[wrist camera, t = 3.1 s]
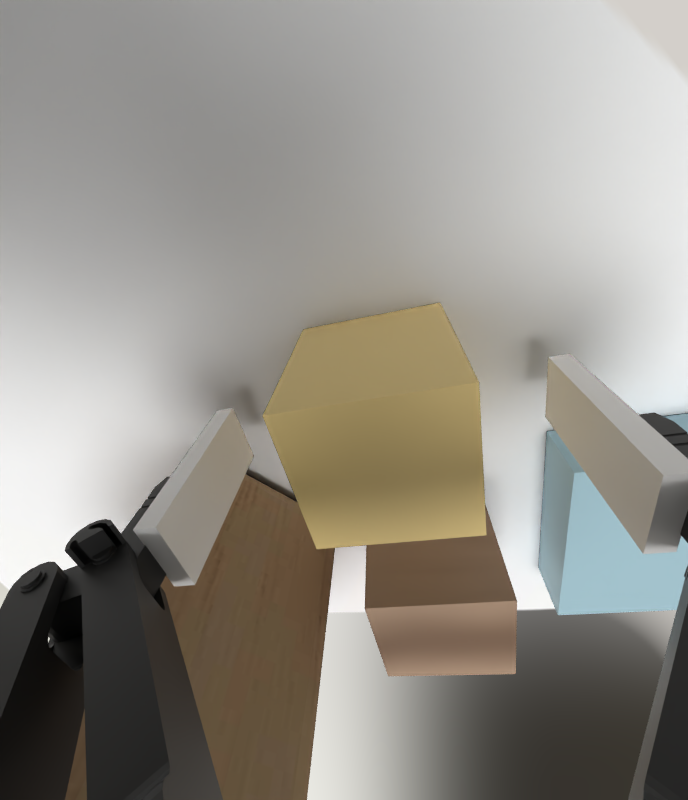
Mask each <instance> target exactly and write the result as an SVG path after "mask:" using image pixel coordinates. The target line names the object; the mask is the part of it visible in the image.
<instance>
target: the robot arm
mask: <svg viewBox="0 0 688 800" xmlns="http://www.w3.org/2000/svg"><path fill="white" fill-rule="evenodd" d="M545 417H546V418H547V420H548V421H549V423H550V424H551V425H552V427H553V428H554V430H555V431H556V432H557V434H558V435H559V437H560V438H561V439H562V441H563V442H564V444H565V445H566V446H567V448H568V449H569V451H570V452H571V453H572V455H573V456H574V458H575V459H576V460H577V462H578V463H579V465H580V466H581V467H582V469H583V470H584V472H585V473H586V474H587V476H588V477H589V479H590V480H591V481H592V483H593V484H594V486H595V487H596V489H597V490H598V491H599V493H600V494H601V496H602V497H603V498H604V500H605V501H606V503H607V504H608V505H609V507H610V508H611V510H612V511H613V512H614V514H615V515H616V517H617V518H618V519H619V521H620V522H621V524H622V525H623V526H624V528H625V529H626V531H627V532H628V533H629V535H630V536H631V538H632V539H633V540H634V542H635V543H636V545H637V546H638V547H639V549H640V550H641V552H642V553H643V554H654V553H668V552H676V551H677V548H678V545H679V542H680V539H681V536H682V537H683V538H684V539H685V541H686V542H687V543H688V434H687V431H685V430H684V429H683V428H682V427H680V426H679V425H678V424H677V423H675V422H674V421H672V420H670V419H668V418H665V417H663V416H661V415H658V414H656V413H648V414H641V415H638V414H637V413H636V412H635V411H634V410H633V409H632V408H630V407H629V406H628V405H627V404H626V403H625V402H624V401H623V400H621V399H620V398H619V397H618V396H617V395H616V394H615V393H614V392H612V391H611V390H610V389H609V388H608V387H607V386H606V385H605V384H604V383H602V382H601V381H600V380H599V379H598V378H597V377H596V376H595V375H593V374H592V373H591V372H590V371H589V370H588V369H587V368H586V367H584V366H583V365H582V364H581V363H580V362H579V361H578V360H577V359H576V358H574V357H573V356H572V355H571V354H564V355H558V356H551V357H548V372H547V393H546V414H545ZM253 457H254V455H253V453H252V451H251V448H250V446H249V444H248V442H247V439H246V437H245V435H244V432H243V430H242V428H241V426H240V423H239V421H238V419H237V416H236V414H235V412H234V410H233V408H230V409H223V410H217V411H216V413H215V414H214V416H213V417H212V419H211V420H210V421H209V423H208V424H207V426H206V427H205V428H204V430H203V431H202V433H201V434H200V436H199V437H198V438H197V440H196V441H195V443H194V444H193V445H192V447H191V448H190V450H189V451H188V453H187V454H186V455H185V457H184V458H183V460H182V461H181V462H180V464H179V465H178V467H177V468H176V470H175V471H174V472H173V474H172V475H171V476H170V477H166V478H165V479H164V480H163V481H162V482H161V483H160V484H158V485H157V486H156V487H155V488H154V490H153V491H152V492H151V494H150V495H149V497H148V500H146V501H145V502H144V503H143V505H142V506H141V507H142V508H140V509H139V510H138V512H137V513H136V514H135V516H134V517H133V518H132V520H131V521H130V523H129V524H128V525H127V527H126V528H125V529H124V531H123V532H122V533H120V532H119V531H118V529H117V528H116V527H115V525H114V524H113V523H112V521H111V520H107V519H104V520H99V521H96V522H94V523H91V524H89V525H87V526H86V527H84V528H83V529H81V530H80V531H79V532H77V533H76V534H75V535H74V536H73V537H72V538H71V539H70V541H69V542H68V543H67V545H66V548H65V551H66V553H67V554H68V555H69V556H70V557H71V558H72V559H73V560H74V562H75V563H76V564H77V565H78V566H75V567H72V568H69V569H67V570H64V571H63V570H62V569H61V568H60V567H59V566H58V565H57V564H56V563H55V562H46V563H43V564H40V565H38V566H36V567H34V568H32V569H31V570H29V571H27V573H25V574H24V575H22V576H21V577H20V578H19V579H18V580H17V581H16V582H15V583H14V585H13V586H12V588H11V589H10V591H9V592H8V594H7V596H6V598H5V600H4V602H3V604H2V606H1V608H0V800H65V797H66V793H67V788H68V783H69V779H70V774H71V769H72V765H73V760H74V755H75V751H76V746H77V741H78V737H79V732H80V727H81V723H82V718H83V713H84V709H85V744H86V782H87V800H223V798H222V794H221V791H220V787H219V783H218V780H217V776H216V773H215V769H214V766H213V762H212V758H211V755H210V751H209V748H208V744H207V741H206V737H205V733H204V730H203V726H202V723H201V719H200V715H199V712H198V708H197V705H196V701H195V698H194V694H193V690H192V687H191V683H190V680H189V676H188V673H187V669H186V665H185V662H184V658H183V655H182V651H181V648H180V644H179V640H178V637H177V633H176V630H175V626H174V622H173V619H172V615H171V612H170V608H169V605H168V601H167V597H166V594H165V592H164V590H163V589H162V587H161V584H162V582H163V580H164V578H165V576H167V577H168V579H169V580H170V581H171V583H172V584H173V586H188V585H195V584H196V582H197V580H198V577H199V575H200V573H201V571H202V569H203V566H204V564H205V562H206V560H207V558H208V555H209V553H210V551H211V549H212V547H213V544H214V542H215V540H216V538H217V536H218V533H219V531H220V529H221V527H222V525H223V522H224V520H225V518H226V516H227V514H228V512H229V509H230V507H231V505H232V503H233V501H234V498H235V496H236V494H237V492H238V490H239V487H240V485H241V483H242V481H243V479H244V476H245V474H246V472H247V470H248V468H249V465H250V463H251V461H252V459H253ZM684 577H685V580H684V584H683V588H682V592H681V596H680V600H679V604H678V607H677V612H676V616H675V619H674V623H673V627H672V631H671V635H670V639H669V643H668V647H667V651H666V654H665V658H664V662H663V666H662V670H661V674H660V678H659V681H658V685H657V689H656V693H655V697H654V701H653V705H652V709H651V712H650V716H649V721H648V724H647V728H646V732H645V736H644V740H643V744H642V747H641V751H640V755H639V759H638V763H637V767H636V771H635V775H634V779H633V782H632V787H631V790H630V794H629V798H628V800H688V566H687V568H686V571H685V574H684ZM48 637H49V638H50V640H49V643H48Z"/></svg>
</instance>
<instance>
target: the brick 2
mask: <svg viewBox="0 0 688 800" xmlns="http://www.w3.org/2000/svg"><path fill="white" fill-rule="evenodd" d="M485 515H486V535H484V536H471V537H459V538H447V539H435V540H423V541H411V542H399V543H387V544H374V545H367V548H366V584H365V610H366V613H367V616H368V619H369V622H370V625H371V628H372V631H373V634H374V636H375V639H376V642H377V645H378V648H379V651H380V654H381V657H382V659H383V662H384V665H385V668H386V671H387V674H388V676H427V675H478V674H479V675H482V674H516V622H517V600H516V597H515V593H514V590H513V587H512V584H511V581H510V578H509V575H508V572H507V569H506V566H505V563H504V560H503V557H502V554H501V551H500V548H499V545H498V542H497V539H496V536H495V533H494V530H493V527H492V523H491V520H490V517H489V514H488V511H487V508H486V505H485Z"/></svg>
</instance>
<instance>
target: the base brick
mask: <svg viewBox="0 0 688 800" xmlns="http://www.w3.org/2000/svg"><path fill="white" fill-rule="evenodd" d="M663 417H665V418H668V419H670V420H672V421H674V422H675V423H677V424H678V425H679V426H680V427H682V428H683V429H684V430H685V431H687V434H688V413H686V414H679V415H671V416H663ZM687 566H688V543H687V542H686V541H685V539H684V538H683V537H682V536H681V539H680V542H679V545H678V548H677V551H676V552H668V553H654V554H643V553H642V552H641V550H640V549H639V547H638V546H637V545H636V543H635V542H634V540H633V539H632V538H631V536H630V535H629V533H628V532H627V531H626V529H625V528H624V526H623V525H622V524H621V522H620V521H619V519H618V518H617V517H616V515H615V514H614V512H613V511H612V510H611V508H610V507H609V505H608V504H607V503H606V501H605V500H604V498H603V497H602V496H601V494H600V493H599V491H598V490H597V489H596V487H595V486H594V484H593V483H592V481H591V480H590V479H589V477H588V476H587V474H586V473H585V472H584V470H583V469H582V467H581V466H580V465H579V463H578V462H577V460H576V459H575V458H574V456H573V455H572V453H571V452H570V451H569V449H568V448H567V446H566V445H565V444H564V442H563V441H562V439H561V438H560V437H559V435H558V434H557V432H556V431H555V430H554V431H547V438H546V454H545V470H544V487H543V503H542V519H541V536H540V552H539V570H540V572H541V575H542V577H543V580H544V582H545V585H546V587H547V590H548V592H549V594H550V597H551V599H552V602H553V604H554V607H555V609H556V611H557V614H558V615H571V614H594V613H616V612H637V611H662V610H677V607H678V604H679V600H680V596H681V592H682V588H683V584H684V580H685V577H684V574H685V571H686V568H687Z"/></svg>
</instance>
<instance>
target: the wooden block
mask: <svg viewBox="0 0 688 800" xmlns="http://www.w3.org/2000/svg"><path fill="white" fill-rule="evenodd" d="M334 552H335V548H326V549H316V546H315V544H314V541H313V539H312V537H311V534H310V532H309V529H308V527H307V524H306V522H305V519H304V517H303V514H302V512H301V509H300V507H299V505H298V502H296V501H294V500H293V499H291V498H289V497H287V496H285V495H283V494H281V493H280V492H278V491H276V490H274V489H272V488H270V487H268V486H267V485H265V484H263V483H261V482H259V481H257V480H256V479H254V478H252V477H250V476H248V475H246V474H245V476H244V479H243V481H242V483H241V485H240V487H239V490H238V492H237V494H236V496H235V498H234V501H233V503H232V505H231V507H230V509H229V512H228V514H227V516H226V518H225V520H224V522H223V525H222V527H221V529H220V531H219V533H218V536H217V538H216V540H215V542H214V544H213V547H212V549H211V551H210V553H209V555H208V558H207V560H206V562H205V564H204V566H203V569H202V571H201V573H200V575H199V577H198V580H197V582H196V584H195V585H188V586H173V584H172V583H171V581H170V580H169V579H168V577H167V576H165V578H164V580H163V582H162V584H161V587H162V589H163V590H164V592H165V594H166V597H167V601H168V605H169V608H170V612H171V615H172V619H173V622H174V626H175V630H176V633H177V637H178V640H179V644H180V648H181V651H182V655H183V658H184V662H185V665H186V669H187V673H188V676H189V680H190V683H191V687H192V690H193V694H194V698H195V701H196V705H197V708H198V712H199V715H200V719H201V723H202V726H203V730H204V733H205V737H206V741H207V744H208V748H209V751H210V755H211V758H212V762H213V766H214V769H215V773H216V776H217V780H218V783H219V787H220V791H221V794H222V798H223V800H307V792H308V784H309V775H310V766H311V757H312V748H313V739H314V730H315V721H316V712H317V704H318V694H319V686H320V677H321V668H322V659H323V650H324V641H325V632H326V623H327V614H328V605H329V596H330V588H331V579H332V570H333V561H334ZM65 800H87V782H86V744H85V709H84V713H83V718H82V723H81V727H80V732H79V737H78V741H77V746H76V751H75V755H74V760H73V765H72V769H71V774H70V779H69V783H68V788H67V793H66V797H65Z"/></svg>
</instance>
